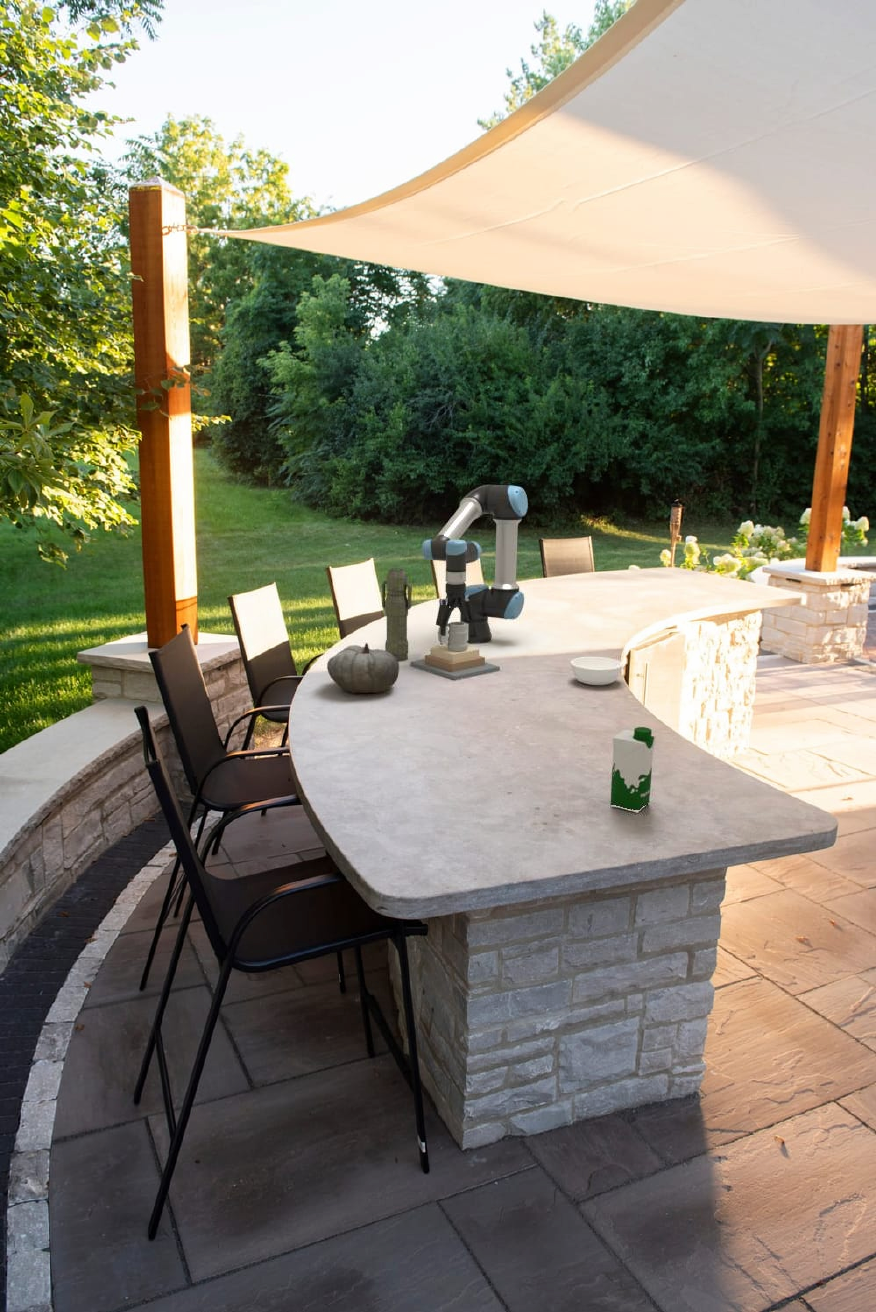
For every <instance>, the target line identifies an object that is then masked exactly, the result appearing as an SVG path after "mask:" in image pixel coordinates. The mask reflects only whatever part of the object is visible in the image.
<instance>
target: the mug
mask: <svg viewBox="0 0 876 1312" xmlns="http://www.w3.org/2000/svg"><path fill="white" fill-rule="evenodd" d="M446 627H448V645H447V646H448V650H450V651H455V652H460V651H466V650H467V647H468V646H469V643H467V630H466V623H464V622H460V621H451V622H449V623H447V626H446ZM440 633H441V632H440V626H438V631H437V638H438V642H439V643H440V646H442V645H444V644H442V635H441V634H440Z"/></svg>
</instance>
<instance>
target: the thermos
mask: <svg viewBox="0 0 876 1312" xmlns="http://www.w3.org/2000/svg"><path fill="white" fill-rule="evenodd" d="M412 590H413V586H412V585H411V583H410V582H408V581H407V574H406V571H405V570H404V569H403V568H391V569H389V570H388V572H387V575H386V580H384V581H383V582H382V584H381V605H382V608H384V611H385V612H384V613H385V614H384V615H385V616H386V640H385V645H384V646H385V648H384V651H387V652H389V653H391V654H392V655H393V656H394V657H395V658H396V660H397V661H398V663H399V662H405V661H408V660H409V657H408V655H409V641H408V616H409V610H411V608H412V595H413V593H412V592H413V591H412ZM386 591H387V593H386Z"/></svg>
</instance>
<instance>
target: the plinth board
mask: <svg viewBox="0 0 876 1312" xmlns="http://www.w3.org/2000/svg"><path fill="white" fill-rule="evenodd" d="M429 651H430V652H429V654H426V655H424V658H422V659H418V660H417V659H416V660H412V661H410V662H409V666H411V667H414V668H417V669H420V670H422V671H426V672H428V671H429V672H428V673H431V672H432V674H434V673H435V674H434V675H438V676H439V677H444V678H446V679H449V678H451V679H450V680H452V679H453V681H458V680H457V679H459V680H462V679H461V678H463V679H468V678H471V677H477V676H480V675H485V674H490V673H493V672H499V671H501V669H500V668H501V666H499V665H495V664H493V663H489V662H486V657H485V656H482V655H480V649H479V648H476V647H472V646H469V645H468V647H467V650H466V651H460V652H455V651H450V650H448V646H447V645H445V644H443V645H439V646H438V645H437V646H432V647H430V650H429Z"/></svg>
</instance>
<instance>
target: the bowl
mask: <svg viewBox="0 0 876 1312" xmlns="http://www.w3.org/2000/svg"><path fill="white" fill-rule="evenodd" d="M570 669H571V671H572V673H573V675H574V677H575V679H576V680H577V681H579V682H581V683H583V684H585V685H588V686H589V685H590V686H605V685H606V686H607V685H609V684H613V683H614V682H615V681H617V679H618V678H619V675H620V674H621V672H622V669H623V662H621V661H620V660H618V659H614V658H610V657H603V656H581V657H575V658H573V659H572V660H570Z"/></svg>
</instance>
